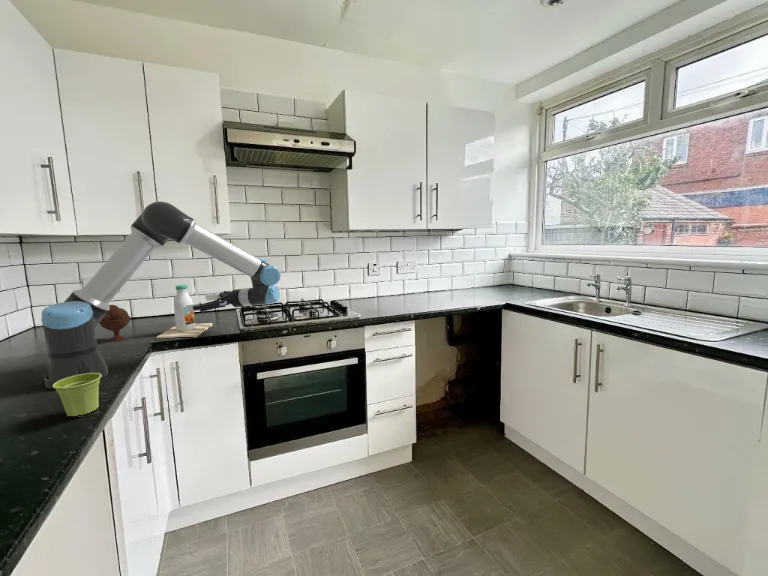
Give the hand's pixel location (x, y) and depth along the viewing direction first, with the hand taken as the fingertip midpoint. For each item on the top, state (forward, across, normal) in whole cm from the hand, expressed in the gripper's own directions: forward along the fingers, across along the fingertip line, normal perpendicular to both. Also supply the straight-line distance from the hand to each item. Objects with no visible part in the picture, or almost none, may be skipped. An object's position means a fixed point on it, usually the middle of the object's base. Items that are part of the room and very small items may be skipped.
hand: (197, 302), depth 162 cm
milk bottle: (+10, +1, -12) cm, 16 cm away
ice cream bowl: (+32, -11, -9) cm, 36 cm away
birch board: (+10, +1, -13) cm, 17 cm away
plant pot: (-13, -71, -6) cm, 73 cm away
